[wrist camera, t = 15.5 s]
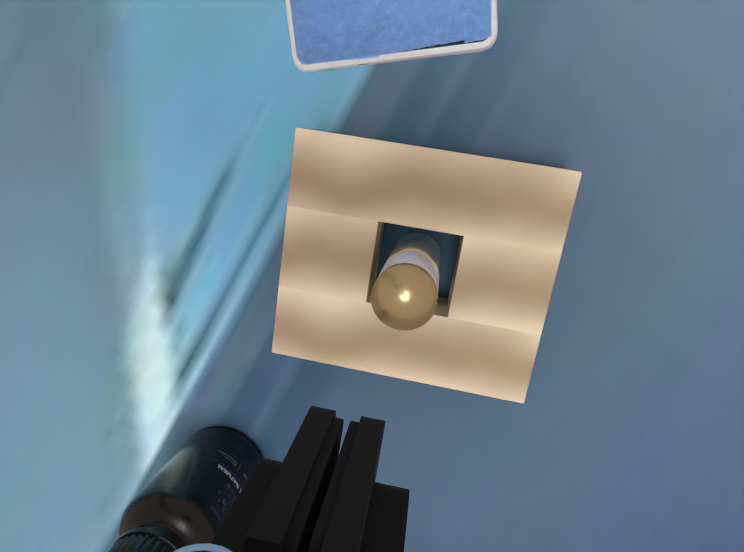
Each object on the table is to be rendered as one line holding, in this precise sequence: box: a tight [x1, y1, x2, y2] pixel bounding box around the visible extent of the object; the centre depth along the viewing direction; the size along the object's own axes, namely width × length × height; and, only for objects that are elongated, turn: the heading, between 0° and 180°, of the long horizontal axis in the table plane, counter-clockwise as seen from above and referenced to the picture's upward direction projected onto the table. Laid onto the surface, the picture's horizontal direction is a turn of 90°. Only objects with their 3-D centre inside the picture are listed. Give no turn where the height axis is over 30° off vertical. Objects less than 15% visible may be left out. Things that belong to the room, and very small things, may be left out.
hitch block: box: [272, 127, 582, 403], centre depth 33 cm, size 14×16×4 cm
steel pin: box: [371, 233, 441, 331], centre depth 30 cm, size 3×3×10 cm
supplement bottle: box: [108, 428, 261, 552], centre depth 35 cm, size 7×7×12 cm
